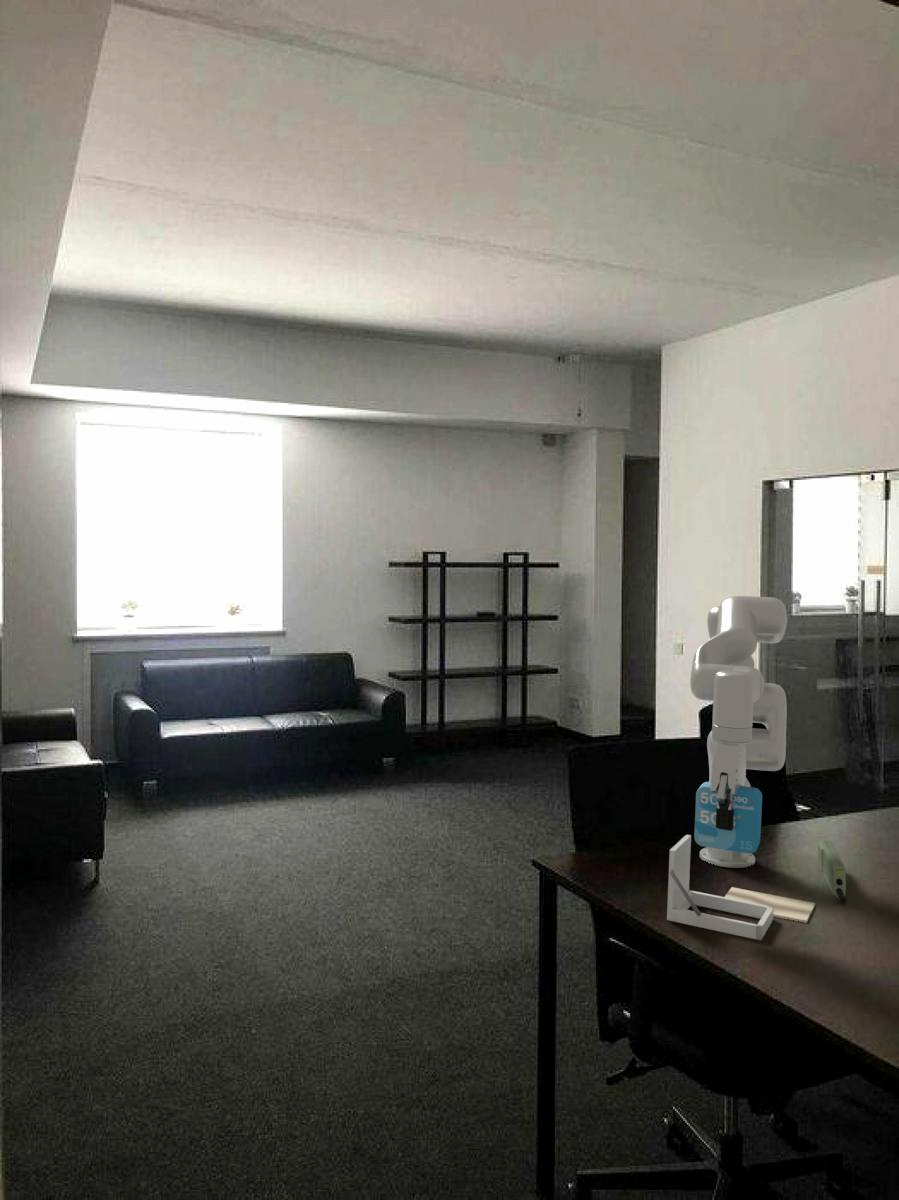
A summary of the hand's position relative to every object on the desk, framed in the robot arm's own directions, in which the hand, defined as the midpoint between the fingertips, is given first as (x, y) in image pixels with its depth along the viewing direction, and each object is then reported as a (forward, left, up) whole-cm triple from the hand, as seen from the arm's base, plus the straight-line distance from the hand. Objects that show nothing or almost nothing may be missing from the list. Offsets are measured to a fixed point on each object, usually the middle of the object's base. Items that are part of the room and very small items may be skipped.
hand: (727, 824), depth 189 cm
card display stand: (0, 0, -19) cm, 19 cm away
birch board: (-13, +6, -19) cm, 24 cm away
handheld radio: (-33, +16, -19) cm, 42 cm away
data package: (0, 0, -5) cm, 5 cm away
